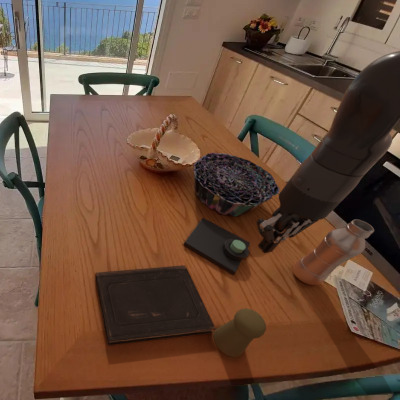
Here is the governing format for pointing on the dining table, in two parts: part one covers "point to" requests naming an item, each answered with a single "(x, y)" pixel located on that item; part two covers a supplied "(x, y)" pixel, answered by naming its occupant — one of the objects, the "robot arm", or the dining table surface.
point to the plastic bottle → (332, 252)
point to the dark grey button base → (216, 245)
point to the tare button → (237, 246)
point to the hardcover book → (151, 305)
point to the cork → (239, 332)
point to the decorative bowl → (232, 183)
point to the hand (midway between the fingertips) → (264, 249)
